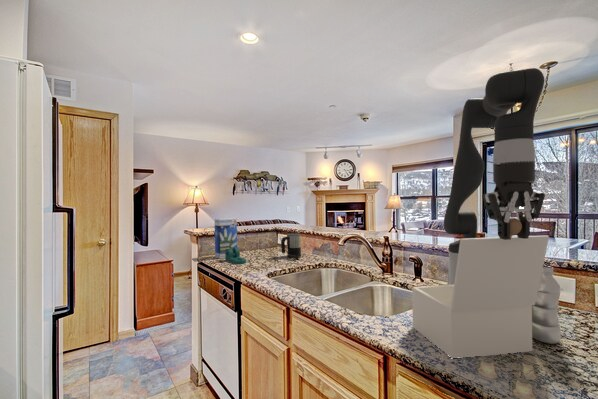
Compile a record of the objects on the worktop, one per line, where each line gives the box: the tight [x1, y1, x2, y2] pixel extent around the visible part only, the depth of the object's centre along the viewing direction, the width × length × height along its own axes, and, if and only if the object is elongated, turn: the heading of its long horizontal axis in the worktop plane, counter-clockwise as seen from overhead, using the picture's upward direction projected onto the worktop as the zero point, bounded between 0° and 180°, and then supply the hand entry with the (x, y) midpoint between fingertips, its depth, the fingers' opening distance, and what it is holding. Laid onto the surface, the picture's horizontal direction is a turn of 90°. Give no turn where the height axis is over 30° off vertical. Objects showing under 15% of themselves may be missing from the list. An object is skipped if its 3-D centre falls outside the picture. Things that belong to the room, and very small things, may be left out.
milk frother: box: [280, 233, 302, 260], centre depth 194 cm, size 14×16×15 cm
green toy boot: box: [224, 247, 247, 265], centre depth 185 cm, size 18×7×8 cm, turn 38°
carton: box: [411, 284, 533, 359], centre depth 81 cm, size 18×22×12 cm
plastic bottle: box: [532, 264, 562, 345], centre depth 79 cm, size 6×7×20 cm
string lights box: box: [214, 217, 238, 259], centre depth 200 cm, size 13×8×26 cm, turn 130°
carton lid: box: [451, 216, 550, 311], centre depth 69 cm, size 23×22×4 cm
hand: (513, 238), depth 66 cm, fingers closed on carton lid, 4 cm apart
